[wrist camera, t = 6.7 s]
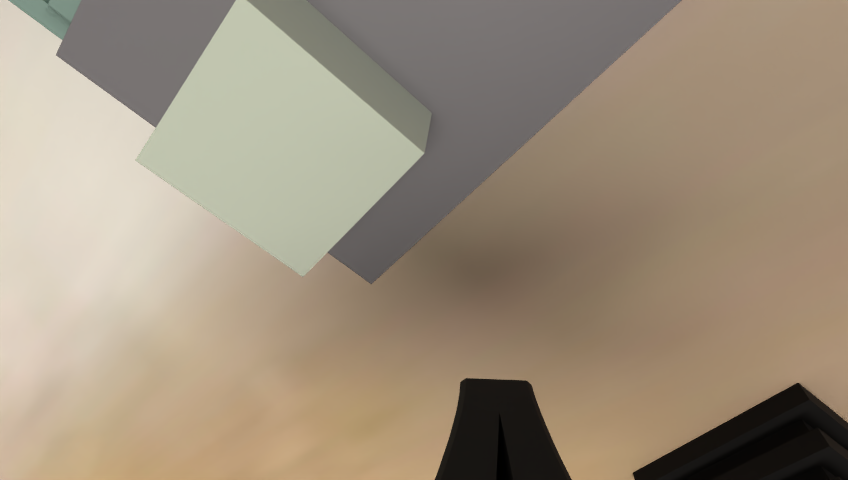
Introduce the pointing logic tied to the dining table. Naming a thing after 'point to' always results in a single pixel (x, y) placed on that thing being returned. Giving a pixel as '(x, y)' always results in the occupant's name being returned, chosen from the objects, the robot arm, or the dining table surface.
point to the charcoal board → (406, 63)
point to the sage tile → (287, 130)
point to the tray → (50, 13)
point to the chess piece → (764, 445)
